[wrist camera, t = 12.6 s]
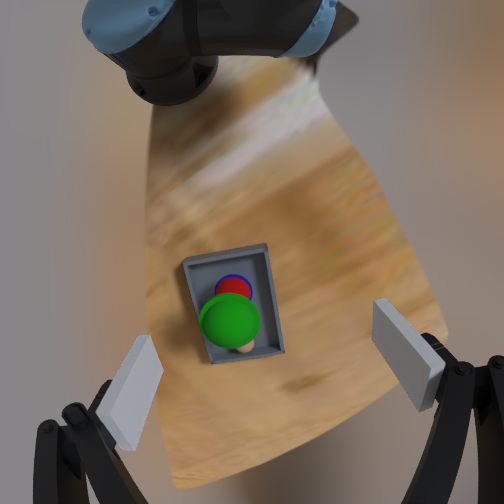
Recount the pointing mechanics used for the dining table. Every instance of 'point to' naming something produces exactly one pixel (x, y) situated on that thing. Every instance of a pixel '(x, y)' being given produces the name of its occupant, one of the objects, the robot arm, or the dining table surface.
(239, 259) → the tray
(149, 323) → the dining table surface
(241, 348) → the ball
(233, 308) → the toy
